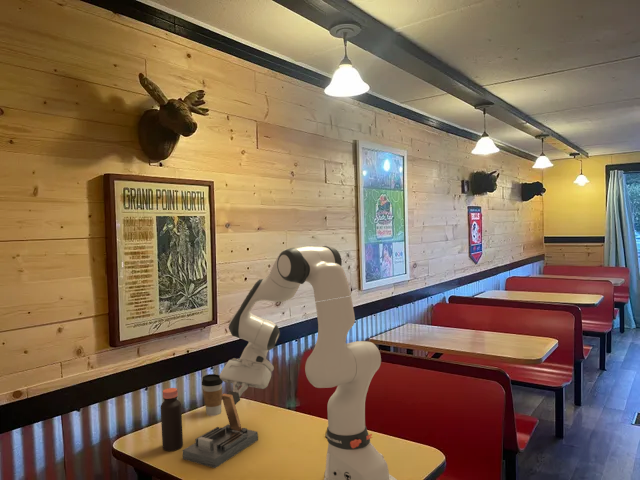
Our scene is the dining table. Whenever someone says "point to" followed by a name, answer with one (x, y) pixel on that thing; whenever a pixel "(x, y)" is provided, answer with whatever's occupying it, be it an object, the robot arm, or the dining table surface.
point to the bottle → (171, 420)
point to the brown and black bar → (232, 409)
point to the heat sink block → (219, 446)
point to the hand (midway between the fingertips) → (235, 395)
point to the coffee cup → (212, 393)
